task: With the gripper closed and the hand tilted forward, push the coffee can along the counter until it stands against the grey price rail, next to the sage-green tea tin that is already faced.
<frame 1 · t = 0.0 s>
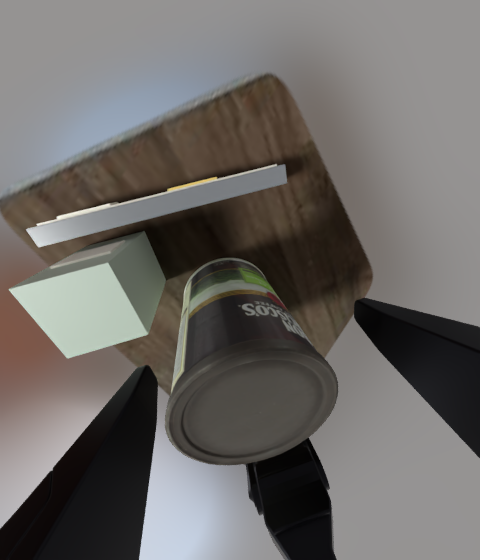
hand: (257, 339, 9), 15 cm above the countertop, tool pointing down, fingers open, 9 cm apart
price rail: (170, 201, 19), on the countertop
coffee can: (226, 297, 25), on the countertop
tea tin: (129, 264, 21), on the countertop
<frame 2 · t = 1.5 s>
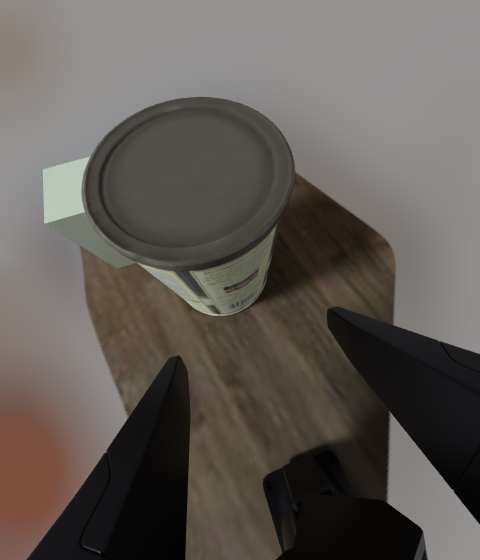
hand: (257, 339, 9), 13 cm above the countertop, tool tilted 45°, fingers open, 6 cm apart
coffee can: (221, 271, 23), on the countertop
tea tin: (136, 241, 25), on the countertop
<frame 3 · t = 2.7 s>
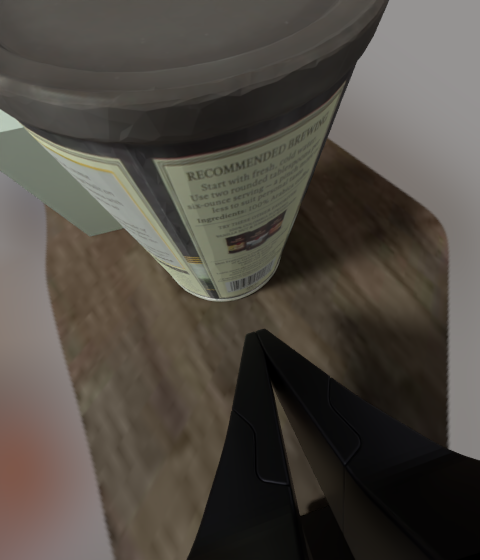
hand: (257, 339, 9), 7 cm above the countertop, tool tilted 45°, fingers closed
coffee can: (222, 246, 18), on the countertop
tea tin: (117, 204, 20), on the countertop
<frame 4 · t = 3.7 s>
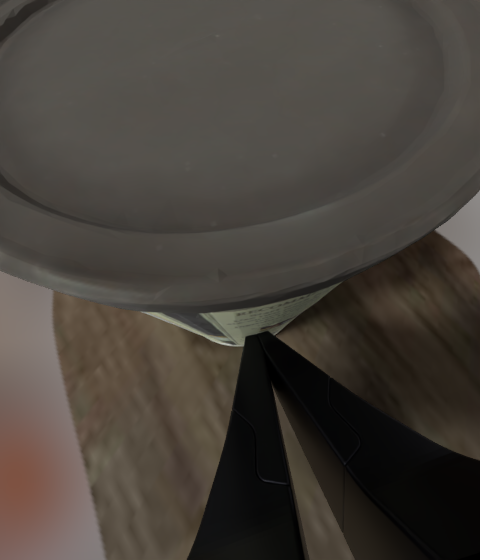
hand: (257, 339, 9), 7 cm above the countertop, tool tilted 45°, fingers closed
coffee can: (237, 282, 17), on the countertop, touching gripper
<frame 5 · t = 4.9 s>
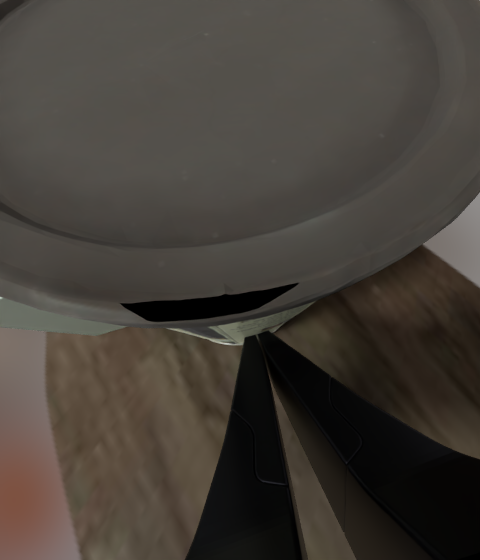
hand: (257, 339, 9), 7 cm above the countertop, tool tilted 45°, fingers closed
coffee can: (234, 281, 17), on the countertop, touching gripper
tea tin: (128, 292, 17), on the countertop
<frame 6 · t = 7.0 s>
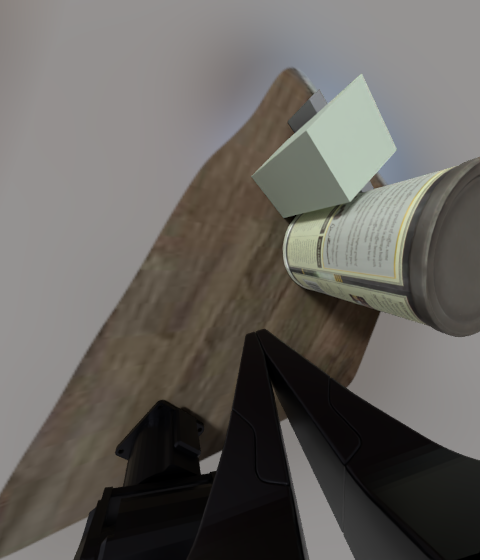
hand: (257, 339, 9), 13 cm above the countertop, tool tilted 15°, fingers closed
price rail: (340, 195, 25), on the countertop
coffee can: (317, 248, 25), on the countertop
tea tin: (284, 180, 22), on the countertop
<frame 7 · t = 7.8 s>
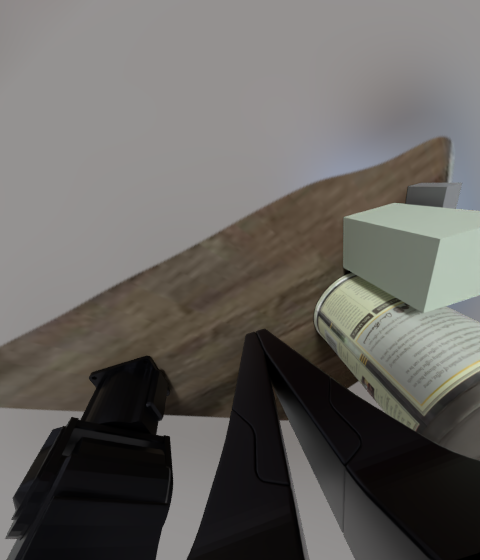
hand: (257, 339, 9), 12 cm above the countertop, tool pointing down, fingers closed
price rail: (400, 274, 24), on the countertop
coffee can: (350, 306, 25), on the countertop
tea tin: (367, 236, 22), on the countertop
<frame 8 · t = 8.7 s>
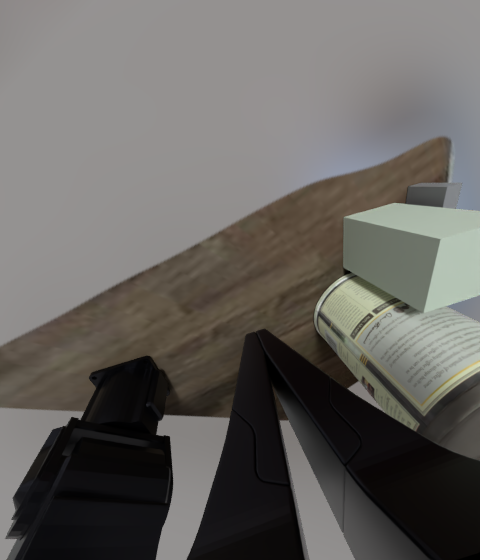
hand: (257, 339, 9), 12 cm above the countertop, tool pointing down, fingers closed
price rail: (400, 274, 24), on the countertop
coffee can: (350, 306, 25), on the countertop
tea tin: (367, 236, 22), on the countertop
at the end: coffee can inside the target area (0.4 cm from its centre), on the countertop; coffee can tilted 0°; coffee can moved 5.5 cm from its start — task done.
